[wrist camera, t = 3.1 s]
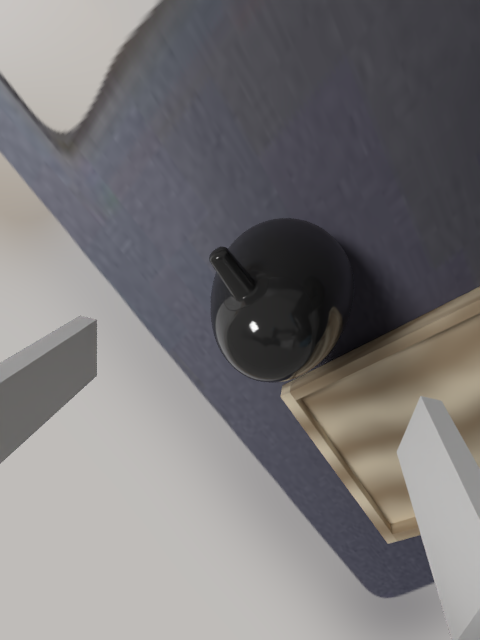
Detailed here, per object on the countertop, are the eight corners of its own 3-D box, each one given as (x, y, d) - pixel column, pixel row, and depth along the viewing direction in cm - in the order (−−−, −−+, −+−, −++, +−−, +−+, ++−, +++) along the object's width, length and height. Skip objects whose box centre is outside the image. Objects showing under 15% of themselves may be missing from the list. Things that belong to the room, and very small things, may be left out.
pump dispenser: (316, 186, 28) (314, 197, 14) (368, 301, 31) (409, 404, 17) (208, 246, 32) (122, 300, 18) (262, 345, 34) (225, 460, 20)
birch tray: (282, 385, 35) (280, 396, 34) (499, 276, 28) (511, 283, 26) (384, 526, 39) (387, 543, 37) (598, 463, 32) (615, 480, 30)
